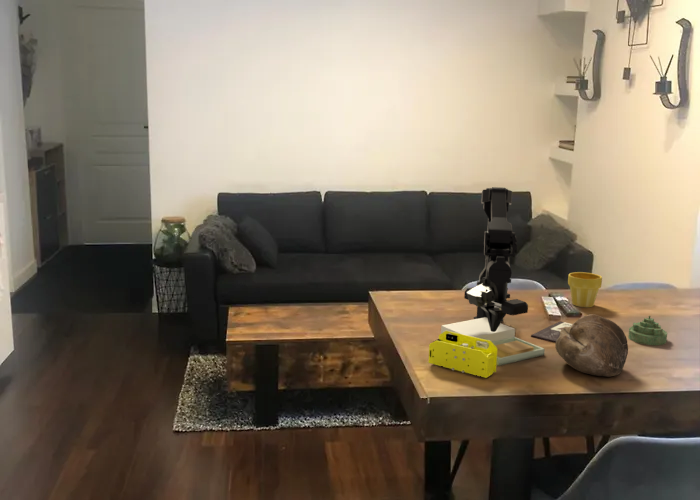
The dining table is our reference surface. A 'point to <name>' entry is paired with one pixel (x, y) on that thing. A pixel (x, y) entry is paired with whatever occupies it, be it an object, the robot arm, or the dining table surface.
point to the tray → (521, 356)
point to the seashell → (593, 346)
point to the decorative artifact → (647, 332)
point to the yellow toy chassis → (464, 354)
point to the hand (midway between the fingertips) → (493, 331)
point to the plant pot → (584, 288)
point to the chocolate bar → (551, 332)
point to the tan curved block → (512, 348)
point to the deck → (480, 329)
